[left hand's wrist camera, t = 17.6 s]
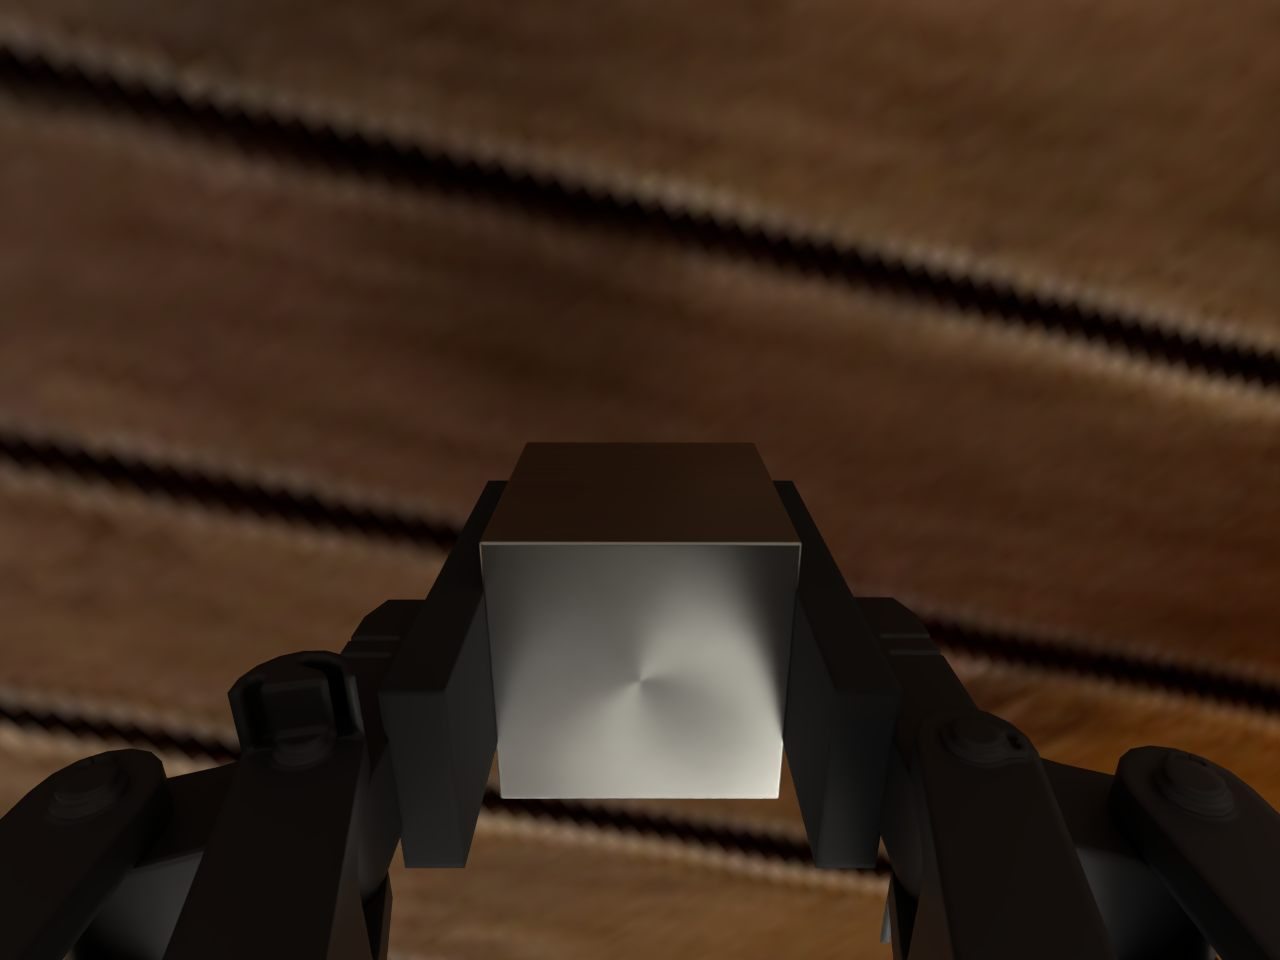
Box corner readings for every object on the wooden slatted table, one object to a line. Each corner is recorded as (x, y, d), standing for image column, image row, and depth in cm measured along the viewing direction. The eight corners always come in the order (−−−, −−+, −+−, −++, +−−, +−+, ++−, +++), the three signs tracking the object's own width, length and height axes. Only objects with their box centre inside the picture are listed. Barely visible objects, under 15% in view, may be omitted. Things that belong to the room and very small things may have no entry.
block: (537, 641, 16) (499, 800, 12) (526, 441, 14) (478, 541, 10) (742, 641, 16) (780, 800, 12) (755, 442, 14) (803, 543, 10)
